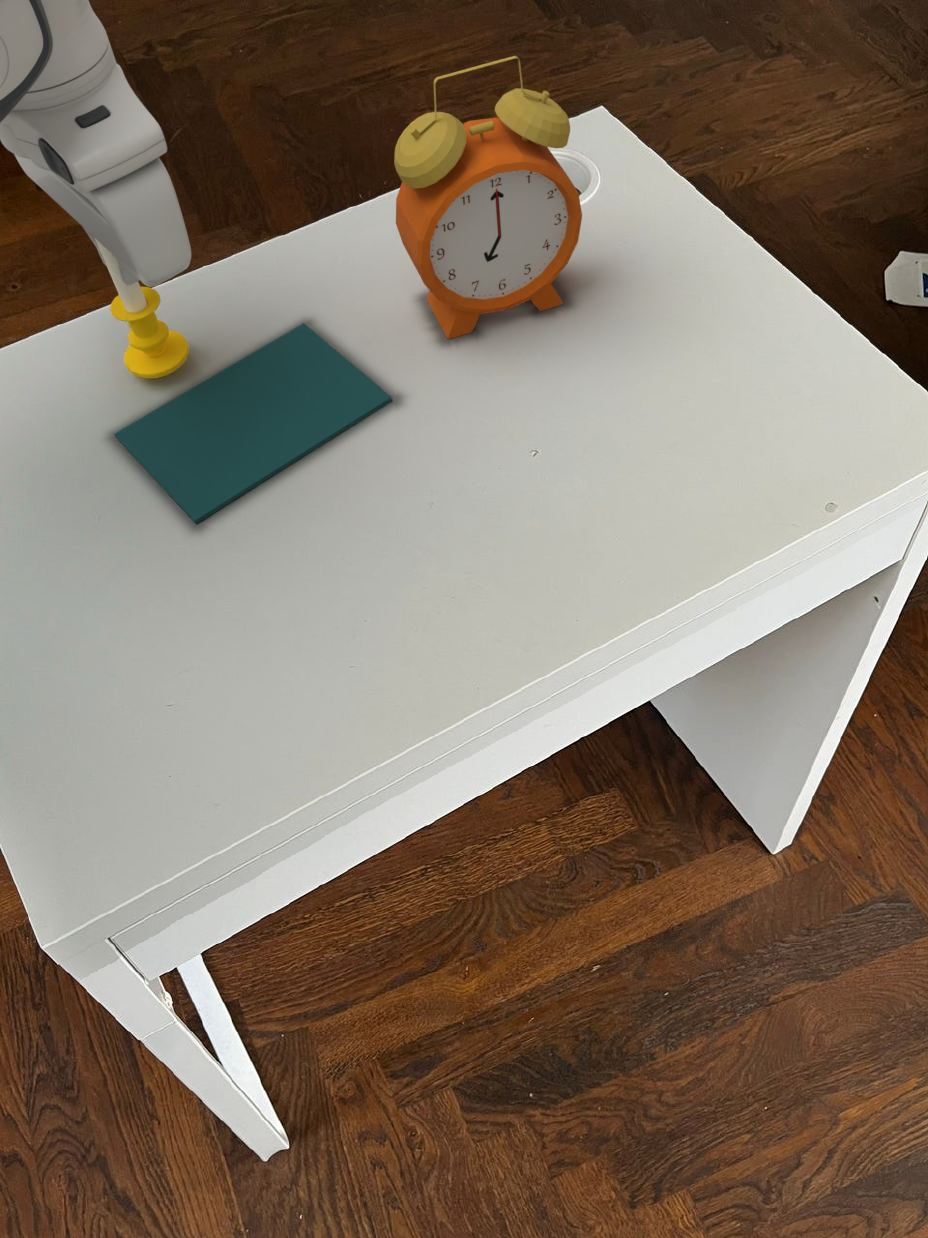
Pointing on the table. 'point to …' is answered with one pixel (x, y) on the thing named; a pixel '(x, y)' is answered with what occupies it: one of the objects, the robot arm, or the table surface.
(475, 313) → the alarm clock
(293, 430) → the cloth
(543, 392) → the table surface
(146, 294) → the candle
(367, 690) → the table surface
